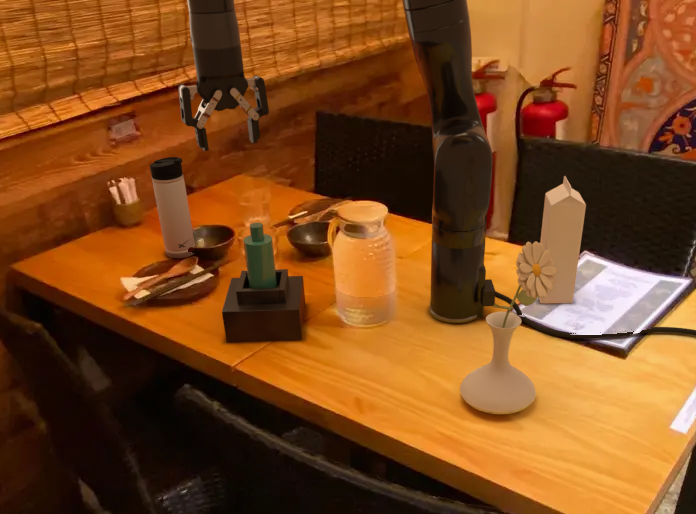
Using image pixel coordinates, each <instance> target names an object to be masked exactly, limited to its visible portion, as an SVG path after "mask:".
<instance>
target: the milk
mask: <svg viewBox="0 0 696 514" xmlns="http://www.w3.org/2000/svg"><path fill="white" fill-rule="evenodd" d="M586 209H587V204H586V202H585V200H584V199H583V197H582V195H581V194H580V192H579V191H578V190H575V189H574V188H573V187H572V185H571V184H570V182H569V180H568V178H567V176H566V175H564V176H563V181H562V183H561V184H559V185H557V186H556V187H554V188H552V189H550V190H548V191H546V192H545V195H544V204H543V213H542V223H541V232H540V242H539V243H542V245H543V246H544V250H546V251H549V252H550V253H551V258H552V260H553V261H554V266H553V267H554V268H556V270H557V273H556V274H555V275H553V276H554V278H555V283H554V284H553V287H554V288H553V290H549V289H547V291H548V293H547V297H546V298H544V297H542V298H539V297H538V298H537V299H538V301H539V304H573V302H574V295H575V288H576V280H577V272H578V267H579V259H580V251H581V244H582V238H583V231H584V222H585V217H586V216H585V214H586Z"/></svg>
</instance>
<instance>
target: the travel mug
mask: <svg viewBox="0 0 696 514" xmlns="http://www.w3.org/2000/svg"><path fill="white" fill-rule="evenodd" d="M182 163H183V158H181V157H179V156H169V157H168V156H167V157H163V158H160V159H156V160H154V161H153V162H152V163H150V164H149V171H150V175H151V182H152V188H153V192H154V198H155V203H156V209H157V214H158V219H159V224H160V230H161V235H162V241H163V245H164V251H165V255H166V256H167V257H169V258H171V259H185V258H186V259H187V258H189V257H191V256H193V255H194V254H195V253H192V252H188V249H189V248H190V247H194V246H195V247H196V242H195V237H194V231H193V224H192V219H191V213H190V206H189V201H188V195H187V189H186V188H187V187H186V183H185V177H184V171H183V166H182Z"/></svg>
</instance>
